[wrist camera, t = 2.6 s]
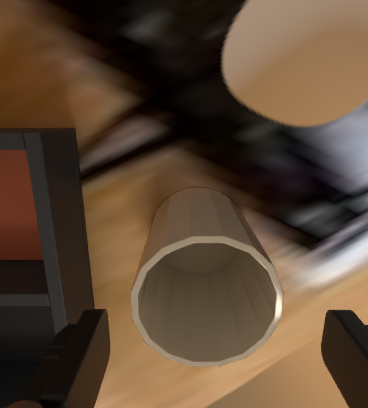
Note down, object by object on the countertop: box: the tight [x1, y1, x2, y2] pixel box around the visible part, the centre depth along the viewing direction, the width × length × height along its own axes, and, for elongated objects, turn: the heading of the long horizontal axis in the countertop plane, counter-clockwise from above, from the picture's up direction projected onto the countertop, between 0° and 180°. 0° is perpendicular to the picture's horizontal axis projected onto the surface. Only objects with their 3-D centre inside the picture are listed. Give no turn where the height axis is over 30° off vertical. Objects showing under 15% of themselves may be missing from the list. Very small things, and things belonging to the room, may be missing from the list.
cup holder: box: [0, 128, 95, 408], centre depth 18 cm, size 9×18×5 cm, turn 0°
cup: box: [130, 187, 284, 367], centre depth 16 cm, size 6×6×8 cm
